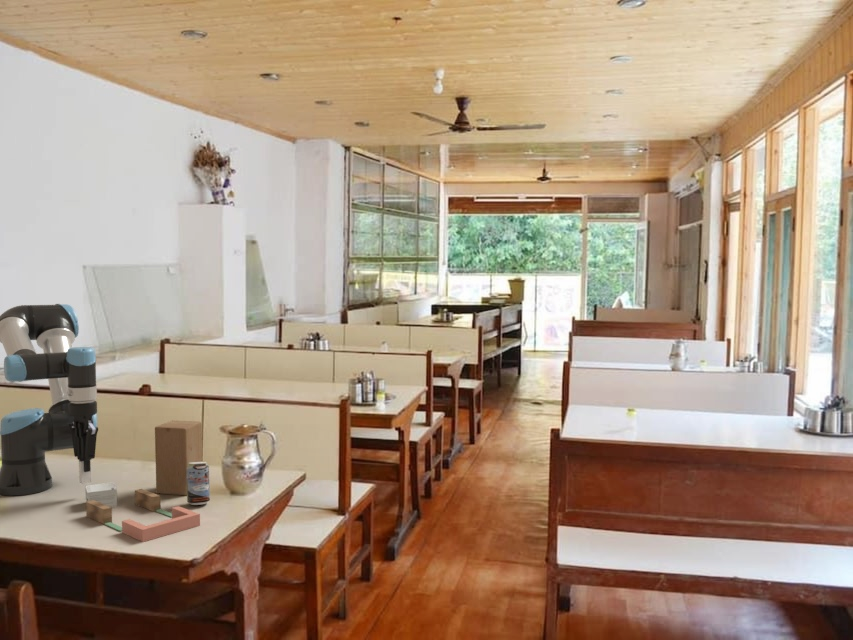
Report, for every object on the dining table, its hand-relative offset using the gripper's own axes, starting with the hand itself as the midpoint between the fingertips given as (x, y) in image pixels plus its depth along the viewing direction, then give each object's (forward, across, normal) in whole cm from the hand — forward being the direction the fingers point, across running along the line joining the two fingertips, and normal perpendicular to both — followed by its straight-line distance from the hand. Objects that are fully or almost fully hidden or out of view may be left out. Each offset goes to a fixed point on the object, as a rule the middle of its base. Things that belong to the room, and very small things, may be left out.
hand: (85, 482), depth 227 cm
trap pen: (+5, +40, 0) cm, 40 cm away
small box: (+5, +9, 0) cm, 11 cm away
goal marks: (+5, +30, 0) cm, 31 cm away
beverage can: (+5, +30, +18) cm, 35 cm away
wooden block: (+5, +14, +22) cm, 26 cm away
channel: (+5, +22, 0) cm, 22 cm away
